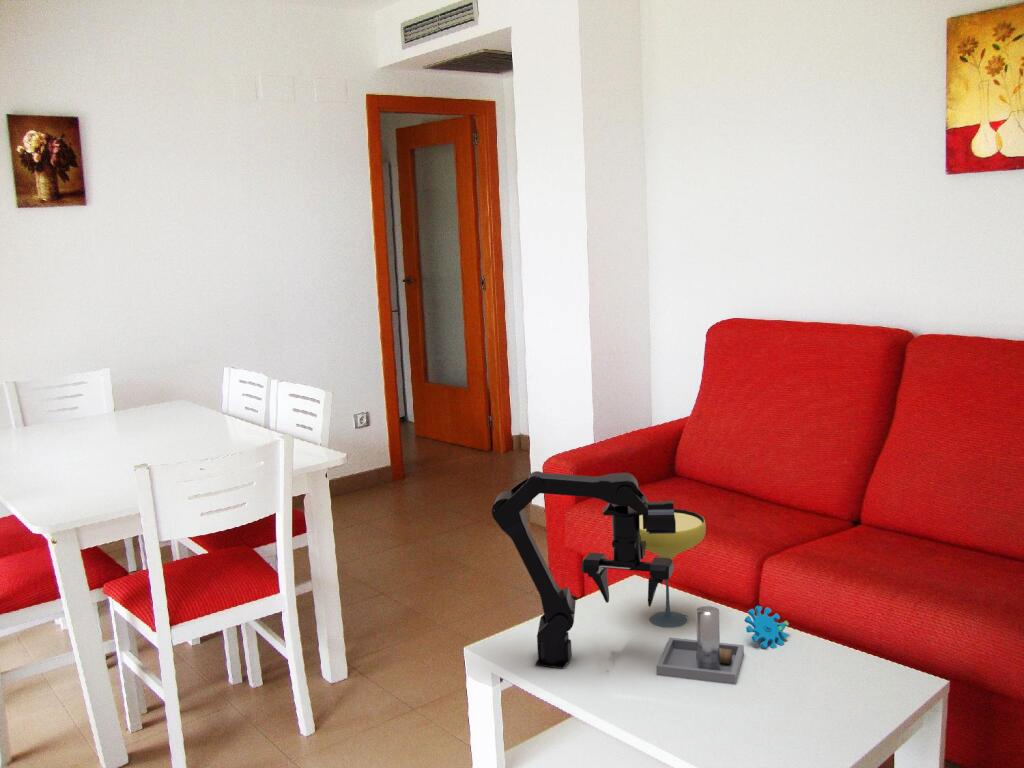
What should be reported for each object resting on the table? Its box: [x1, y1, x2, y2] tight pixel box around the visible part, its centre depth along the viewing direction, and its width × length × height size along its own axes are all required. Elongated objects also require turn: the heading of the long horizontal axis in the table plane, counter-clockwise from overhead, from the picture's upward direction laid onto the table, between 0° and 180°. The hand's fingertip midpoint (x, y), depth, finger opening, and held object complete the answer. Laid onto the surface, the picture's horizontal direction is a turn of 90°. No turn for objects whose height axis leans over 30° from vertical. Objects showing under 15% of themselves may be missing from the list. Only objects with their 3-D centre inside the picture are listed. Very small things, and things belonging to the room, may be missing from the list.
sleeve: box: [695, 605, 721, 671], centre depth 197 cm, size 5×5×13 cm
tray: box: [656, 636, 745, 685], centre depth 201 cm, size 16×14×3 cm
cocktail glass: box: [639, 508, 707, 629], centre depth 222 cm, size 18×18×25 cm
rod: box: [696, 648, 732, 664], centre depth 201 cm, size 7×3×3 cm
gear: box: [743, 605, 790, 649], centre depth 211 cm, size 11×6×10 cm
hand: (628, 603), depth 203 cm, fingers open, 9 cm apart
